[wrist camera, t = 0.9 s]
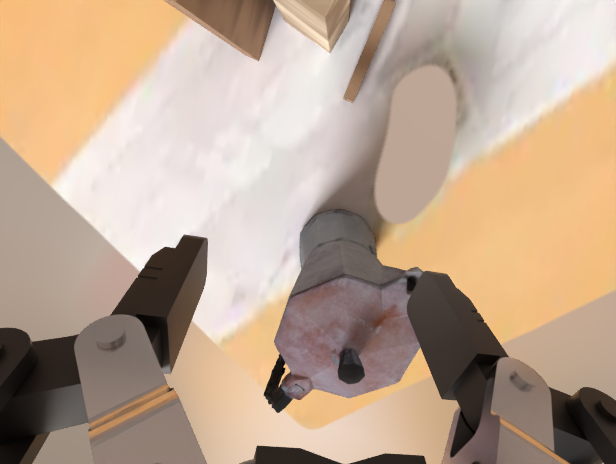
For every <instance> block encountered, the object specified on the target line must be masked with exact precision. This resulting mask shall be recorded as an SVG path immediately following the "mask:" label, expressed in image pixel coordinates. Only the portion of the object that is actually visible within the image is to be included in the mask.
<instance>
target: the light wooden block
mask: <svg viewBox="0 0 616 464" xmlns="http://www.w3.org/2000/svg"><path fill="white" fill-rule="evenodd" d="M273 1H274V2H275V4H276V6H277V8H278V10H279V11H280V13H281V15H282V17H283V19H284V20H285V22H286V23H288V24H289V25H291V26H292V27H293V28H295V29H296V30H298V31H299V32H300V33H302V34H303V35H304V36H306V37H307V38H309V39H310V40H311V41H313V42H314V43H316V44H317V45H318V46H320V47H321V48H323V49H324V50H325V51H327V52H328V53H331V51H332V49H333V48H334V46H335V44H336V42H337V41H338V39H339V37H340V35H341V34H342V32H343V30H344V28H345V27H346V25H347V23H348V20H349V10H350V0H273Z"/></svg>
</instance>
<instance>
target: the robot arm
mask: <svg viewBox="0 0 616 464" xmlns="http://www.w3.org/2000/svg"><path fill="white" fill-rule="evenodd" d="M207 250H208V240H207V238H204V237H197V236H190V235H183V237H182V238H181V240H180V242H179V243H178V245H177V247H176V248H170V247H164V248H163V249H161V250H160V251H158V252H156V253H155V254H153V255H152V256H151V258H150V259H149V261H148V262H147V263H146V265H145V267H144V268H143V269H142V271H141V272H140V273H139V275H138V278H136V279H135V281H134V282H133V284H132V285H131V287H130V288H129V289H128V291H127V292H126V294H125V295H124V297H123V298H122V299H121V301H120V302H119V304H118V305H117V307H116V308H115V309H114V311H113V312H112V314H111V315H110V316H107V317H104V318H101V319H99V320H97V321H94V322H93V323H91V324H89V325H88V326H87V327H86V328H84V329H83V331H81V332H80V334H78V335H74V336H69V337H62V338H56V339H49V340H42V341H35V342H31V340H30V338H29V335H28V334H27V333H26V332H24V331H22V330H19V329H16V328H0V464H32V463H33V461H34V459H35V458H36V456H37V454H38V453H39V451H40V449H41V447H42V446H43V444H44V442H45V440H46V439H47V437H48V435H49V433H50V432H52V431H55V430H60V429H64V428H68V427H71V426H76V425H80V424H84V423H88V422H89V427H90V429H89V439H90V445H91V450H92V455H93V461H94V464H207V463H206V460H205V458H204V455H203V453H202V451H201V448H200V446H199V444H198V441H197V439H196V437H195V434H194V432H193V429H192V427H191V425H190V423H189V420H188V418H187V415H186V413H185V411H184V408H183V406H182V404H181V401H180V399H179V397H178V395H177V393H176V391H175V390H174V389H173V388H171V389H170V388H169V386H168V384H167V382H166V379H165V377H164V374H163V373H166V374H171V372H172V369H173V367H174V364H175V362H176V359H177V356H178V354H179V351H180V349H181V346H182V343H183V341H184V338H185V335H186V333H187V330H188V328H189V325H190V323H191V320H192V318H193V315H194V312H195V310H196V307H197V305H198V302H199V300H200V297H201V294H202V292H203V289H204V286H205V281H206V275H207ZM407 314H408V318H409V320H410V322H411V325H412V327H413V330H414V332H415V335H416V337H417V340H418V342H419V345H420V347H421V349H422V352H423V354H424V357H425V359H426V362H427V364H428V367H429V369H430V371H431V374H432V376H433V379H434V381H435V384H436V386H437V388H438V391H439V394H440V396H441V398H442V399H447V400H457V402H458V404H459V407H458V408H457V409H456V411H455V413H454V418H453V422H452V425H451V429H450V433H449V437H448V441H447V445H446V449H445V453H444V457H443V460H442V463H441V464H602V463H604V464H616V400H614V399H613V398H611V397H610V396H608V395H607V394H605V393H603V392H601V391H599V390H596V389H593V388H589V387H583V388H581V389H580V390H579V391H577V392H576V393H575V394H574V395H573V396H570V395H568V394H565V393H563V392H560V391H558V390H555V389H552V388H550V387H548V385H547V384H546V382H545V381H544V380H543V378H542V377H541V376H540V375H539V374H538V373H537V372H536V371H535V370H534V369H532V368H531V367H529V366H528V365H526V364H525V363H523V362H521V361H520V360H517V359H514V358H510V357H509V356H508V355H507V354H506V352H505V350H504V349H503V348H502V346H501V345H500V343H499V342H498V340H497V339H496V337H495V336H494V334H493V333H492V331H491V330H490V328H489V327H488V325H487V324H486V323H484V320H483V318H482V317H481V315H480V314H479V313H477V309H476V308H475V306H474V305H473V303H472V302H471V300H470V299H469V298H468V297H467V296H465V295H464V294H463V293H462V292H461V291H460V290H459V289H457V288H456V287H455V285H454V284H453V282H452V280H451V279H450V277H449V276H448V275H447V274H444V273H437V272H431V271H425V272H423V273H422V275H421V276H420V278H419V280H418V282H417V284H416V286H415V288H414V290H413V292H412V294H411V296H410V298H409V300H408V303H407ZM240 464H341V463H338V462H336V461H333V460H330V459H328V458H325V457H322V456H319V455H317V454H314V453H311V452H309V451H306V450H303V449H301V448H286V447H269V446H257V448H256V452H255V456H254V459H252V460H249V461H245V462H242V463H240ZM350 464H426V461H425V458H424V456H418V455H402V454H382V455H379V456H375V457H371V458H368V459H365V460H361V461H357V462H354V463H350Z"/></svg>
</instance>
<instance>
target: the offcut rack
mask: <svg viewBox="0 0 616 464" xmlns="http://www.w3.org/2000/svg"><path fill="white" fill-rule="evenodd" d="M164 1H165V2H167V3H168V4H170V5H171V6H173V7H174V8H176V9H177V10H179V11H180V12H182V13H183V14H185V15H186V16H188V17H189V18H191V19H192V20H194V21H195V22H197V23H198V24H200V25H201V26H203V27H204V28H206V29H207V30H209V31H210V32H212V33H213V34H215V35H216V36H218V37H219V38H221V39H222V40H224V41H225V42H227V43H228V44H230V45H231V46H233V47H234V48H236V49H237V50H239V51H240V52H241V53H243V54H244V55H247V56H249V57H251V58H253V59H256V60H258V61H259V59H260V56H261V52H262V49H263V46H264V42H265V39H266V36H267V32H268V29H269V26H270V22H271V19H272V16H273V12H274V9H275V6H276V4H275V2H274V1H273V0H164ZM395 4H396V3H395V2H393V1H391V0H384V1H383V4H382V6H381V9H380V11H379V13H378V16H377V18H376V21H375V23H374V25H373V28H372V30H371V33H370V35H369V37H368V40H367V42H366V45H365V47H364V49H363V52H362V54H361V57H360V59H359V62H358V64H357V66H356V69H355V71H354V74H353V76H352V78H351V81H350V83H349V86H348V88H347V90H346V93H345V95H344V98H343V99H345V100H347V101H349V102H351V103H353V102H354V100H355V97H356V95H357V93H358V90H359V88H360V86H361V83H362V81H363V79H364V76H365V74H366V72H367V69H368V67H369V65H370V62H371V60H372V58H373V56H374V53H375V51H376V49H377V46H378V44H379V42H380V39H381V37H382V35H383V32H384V30H385V28H386V25H387V23H388V21H389V18H390V16H391V14H392V11H393V9H394V7H395Z"/></svg>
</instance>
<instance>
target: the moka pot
mask: <svg viewBox="0 0 616 464" xmlns="http://www.w3.org/2000/svg"><path fill="white" fill-rule="evenodd" d="M300 262H301V269H302V270H301V272H300V274H299V276H298V278H297V281H296V283H295V285H294V288H293V290H292V292H291V294H290V296H289V299H288V302H287V305H286V308H285V311H284V314H283V317H282V320H281V323H280V326H279V329H278V331H277V334H276V337H275V340H274V343H275V345H276V348H277V350H278V351H279V353H280V354H279V358H278V359H277V362H276V365H275V366H274V369H273V370H272V373H271V377H270V379H269V381H268V384H267V387H266V390H265V392H264V396H265V397H266V399H267V400H268V403H269V404H272V408H274V409H275V411H276V412H277V413H279V412H280V411H282V410H283V409H284V408H285V407H286V406H287V405H288V404H289V403H290V402H291V401H292V399H293V398H294V399H297V400H301V399H302V398H303V397H304V396H306V395H307V394H308V393H309V392H310V391H311V390H312V389H318V390H322V391H325V392H329V393H332V394H335V395H339V396H343V397H346V398H352V397H355V396H358V395H361V394H365V393H368V392H371V391H374V390H377V389H380V388H383V387H387V386H390V385H393V384H396V383H398V382H399V381H400V380H401V378H402V376H403V374H404V373H405V371H406V369H407V368H408V366H409V364H410V363H411V361H412V359H413V358H414V356H415V354H416V353H417V351H418V350H419V348H420V345H419V342H418V340H417V337H416V335H415V332H414V330H413V327H412V325H411V322H410V320H409V318H408V314H407V303H408V300H409V298H410V296H411V294H412V292H413V290H414V288H415V286H416V284H417V282H418V280H419V278H420V276H421V275H422V273H423V271H422V270H420V269H419V268H418V267H414V268H411V269H409V270H407V271H405V270H401V269H397V268H393V267H388V266H384V265H382V264H381V262H380V261H379V260H378V259H377V253H376V244H375V237H374V235H373V233H372V231H371V229H370V228H369V226H368V225H367V223H366V222H365V221H364V219H363V218H362V217H360V216H358V215H356V214H354V213H351V212H348V211H344V210H340V209H337V210H330V211H326V212H323V213H319V214H317V215H315V216H314V217H313V218H312V219H311V220H310V221H309V222H308V224H307V225H306V226H305V227H304V228H303V230H302V231H301V233H300ZM285 362H286V364H287V365H288V367H289V369H290V371H291V372H290V373H289V374H287V375H286V376H285V378H284V379H283V380H282V384H281V385H280V387H279V388H278V386H279V383H280V380H281V377H282V375H283V374H284V372H285V368H284V367H283V366H284V365H285Z"/></svg>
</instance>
